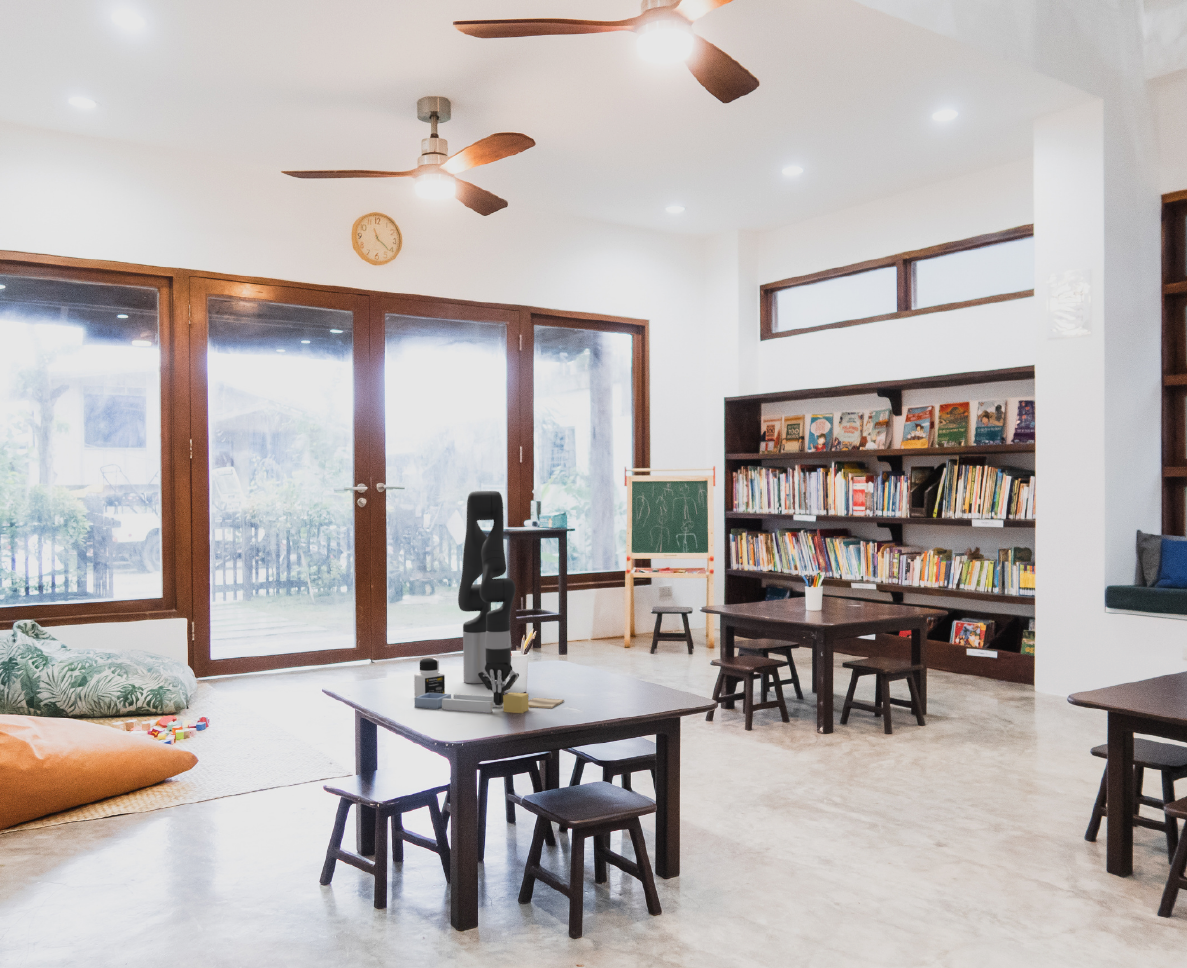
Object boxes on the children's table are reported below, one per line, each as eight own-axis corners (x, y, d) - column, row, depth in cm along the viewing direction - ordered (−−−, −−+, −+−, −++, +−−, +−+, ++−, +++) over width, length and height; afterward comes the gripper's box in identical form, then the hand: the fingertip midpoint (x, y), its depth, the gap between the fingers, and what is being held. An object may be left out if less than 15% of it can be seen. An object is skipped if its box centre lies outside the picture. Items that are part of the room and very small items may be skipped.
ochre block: (510, 708, 278) (509, 692, 278) (528, 710, 276) (528, 693, 276) (503, 712, 274) (503, 695, 274) (522, 713, 272) (521, 696, 272)
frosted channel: (442, 709, 279) (442, 699, 279) (455, 703, 287) (455, 693, 287) (490, 712, 273) (490, 702, 273) (503, 706, 281) (503, 696, 281)
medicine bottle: (425, 700, 292) (424, 661, 293) (414, 696, 298) (413, 658, 298) (445, 696, 297) (444, 658, 297) (433, 693, 302) (433, 656, 303)
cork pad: (534, 699, 290) (534, 697, 290) (564, 701, 287) (564, 699, 287) (520, 706, 281) (520, 704, 281) (551, 708, 278) (551, 706, 278)
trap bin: (428, 701, 290) (428, 692, 290) (451, 703, 287) (450, 694, 287) (414, 707, 282) (414, 698, 282) (438, 709, 279) (437, 699, 279)
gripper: (523, 645, 278) (524, 703, 278) (483, 643, 283) (484, 700, 283) (513, 648, 271) (513, 709, 271) (472, 647, 276) (472, 706, 276)
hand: (498, 704), depth 277 cm, fingers closed
